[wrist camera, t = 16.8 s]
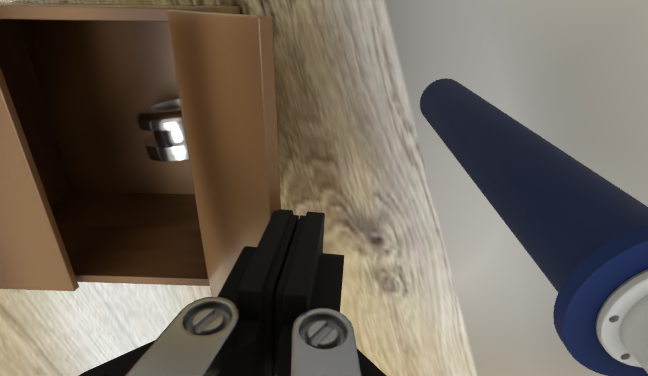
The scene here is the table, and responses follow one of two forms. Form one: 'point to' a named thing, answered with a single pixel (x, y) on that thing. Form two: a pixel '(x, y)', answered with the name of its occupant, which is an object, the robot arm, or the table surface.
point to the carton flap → (228, 128)
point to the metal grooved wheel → (164, 131)
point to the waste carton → (91, 150)
